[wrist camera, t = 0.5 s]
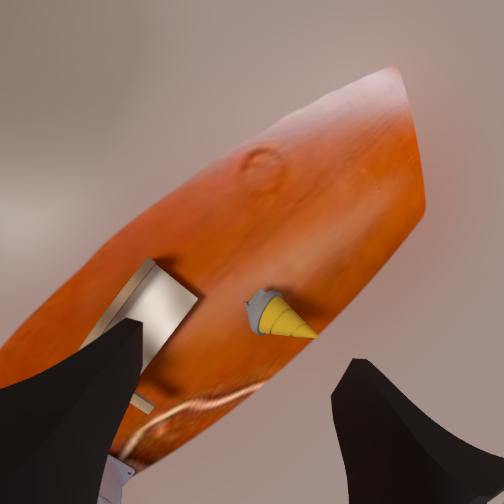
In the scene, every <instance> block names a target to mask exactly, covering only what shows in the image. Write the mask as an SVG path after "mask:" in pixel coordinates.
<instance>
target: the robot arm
mask: <svg viewBox="0 0 504 504" xmlns="http://www.w3.org/2000/svg"><path fill="white" fill-rule="evenodd" d="M142 367H143V322H141V321H138V320H134V319H130V318H127V317H126V318H124V319H123V320H121V321H120V322H118V323H117V324H116V325H114V326H113V327H112V328H110V329H109V330H107V331H106V332H105V333H103V334H102V335H101V336H99V337H98V338H96V339H95V340H94V341H92V342H91V343H89V344H88V345H86V346H85V347H83V348H82V349H80V350H79V351H77V352H76V353H74V354H73V355H71V356H69V357H68V358H66V359H65V360H63V361H61V362H60V363H58V364H56V365H54V366H53V367H51V368H49V369H47V370H45V371H43V372H41V373H39V374H37V375H35V376H33V377H31V378H29V379H26V380H24V381H21V382H18V383H16V384H13V385H10V386H8V387H5V388H2V389H0V504H121V497H122V487H123V486H124V485H125V483H126V482H127V481H128V480H129V479H130V478H131V477H132V476H133V474H134V473H135V470H134V469H133V468H132V467H130V466H128V465H126V464H124V463H123V462H121V461H119V460H117V459H116V458H114V457H112V456H111V455H109V451H110V448H111V445H112V442H113V439H114V437H115V435H116V433H117V430H118V428H119V426H120V423H121V421H122V419H123V417H124V414H125V412H126V410H127V408H128V405H129V403H130V401H131V399H132V396H133V394H134V392H135V389H136V386H137V383H138V380H139V377H140V374H141V370H142ZM331 403H332V413H333V420H334V424H335V429H336V433H337V437H338V441H339V445H340V449H341V453H342V457H343V461H344V465H345V469H346V475H347V482H348V494H349V504H487V502H488V501H490V500H492V499H493V498H494V497H496V496H497V495H498V494H500V493H501V492H503V491H504V458H502V457H499V456H496V455H493V454H490V453H487V452H485V451H483V450H480V449H478V448H476V447H474V446H472V445H470V444H468V443H466V442H465V441H463V440H461V439H459V438H457V437H456V436H454V435H453V434H451V433H450V432H448V431H447V430H445V429H444V428H443V427H441V426H440V425H438V424H437V423H436V422H434V421H433V420H432V419H431V418H429V417H428V416H427V415H426V414H425V413H423V412H422V411H421V410H420V409H419V408H418V407H417V406H416V405H414V404H413V403H412V402H411V401H410V400H409V399H408V398H407V397H406V396H405V395H404V394H403V393H402V392H401V391H400V390H399V389H398V388H397V387H396V386H395V385H394V384H393V383H392V382H390V380H389V379H388V378H387V377H386V376H385V375H384V374H383V373H382V372H380V371H379V370H378V369H377V368H376V367H375V366H374V365H373V364H372V363H371V362H370V361H368V360H367V359H354V358H353V359H352V361H351V363H350V364H349V366H348V368H347V370H346V372H345V373H344V375H343V377H342V378H341V380H340V382H339V383H338V385H337V387H336V388H335V390H334V392H333V393H332V395H331ZM128 472H130V473H128ZM503 504H504V503H503Z"/></svg>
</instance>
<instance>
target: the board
mask: <svg viewBox="0 0 504 504" xmlns="http://www.w3.org/2000/svg"><path fill="white" fill-rule="evenodd" d="M197 300H198V298H197V297H195V296H194V295H193V294H192V293H190V292H189V291H188V290H187V289H185V288H184V287H183V286H182V285H180V284H179V283H178V282H177V281H176V280H174V279H173V278H172V277H171V276H170V275H168V274H167V273H166V272H165V271H164V270H162V269H161V268H160V267H159V266H158V265H156V262H155V261H153V260H152V259H151V258H150V257H149V256H148V258H147V259H146V260H145V261H144V262H143V264H142V265H141V266H140V267H139V269H138V270H137V271H136V272H135V274H134V275H133V276H132V278H131V279H130V280H129V281H128V283H127V284H126V285H125V286H124V288H123V289H122V290H121V292H120V293H119V294H118V296H117V297H116V298H115V300H114V301H113V302H112V304H111V305H110V306H109V308H108V309H107V310H106V312H105V313H104V314H103V316H102V317H101V319H100V320H99V321H98V323H97V324H96V325H95V327H94V328H93V330H92V331H91V333H90V334H89V335H88V337H87V338H86V340H85V341H84V343H83V344H82V346H81V347H80V348H79V350H80V349H82V348H83V347H85V346H86V345H88V344H89V343H91V342H92V341H94V340H95V339H96V338H98V337H99V336H101V335H102V334H103V333H105V332H106V331H107V330H109V329H110V328H112V327H113V326H114V325H116V324H117V323H118V322H120V321H121V320H123V319H124V318H126V317H127V318H130V319H134V320H138V321H141V322H143V367H142V370H141V373H142V372H143V371H144V369H145V368H146V367H147V365H148V364H149V363H150V361H151V360H152V359H153V357H154V356H155V355H156V354H157V352H158V351H159V350H160V348H161V347H162V346H163V344H164V343H165V342H166V340H167V339H168V338H169V336H170V335H171V334H172V332H173V331H174V330H175V329H176V327H177V326H178V325H179V323H180V322H181V321H182V319H183V318H184V317H185V315H186V314H187V313H188V312H189V310H190V309H191V308H192V306H193V305H194V304H195V302H196V301H197ZM79 350H78V351H79ZM140 375H141V374H140Z"/></svg>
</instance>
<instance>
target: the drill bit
mask: <svg viewBox="0 0 504 504" xmlns="http://www.w3.org/2000/svg"><path fill="white" fill-rule="evenodd" d="M245 306H246V311H247V315H248V319H249V323H250V328H251V330H252V331H253V332H254V333H256V334H258V335H260V336H262V335H265V334H266V333H268V334H277V335H286V336H290V334H291V335H292V336H296V337H307V338H311V337H312V338H319V336H318V335H317V334H316V333H315V332H314V331H313V330H312V329H311V328H310V327H309V326H308V325H307V324H306V323H305V322H304V321H303V320H302V319H301V318H300V317H299V316H298V315H297V314H296V312H295V311H293V309H292V308H291V307H290V306H289V305H288V304H287V303H286V302H285V301H284V300H283V295H282V294H281V293H279V292H277V291H274V290H270V291H268V292H265V291H263V290H261V289H259V291H258V292H257V293H256V294H255V296H254V297H253V298H252V299H251V300H250V302H249V303H248V302H245Z"/></svg>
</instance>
